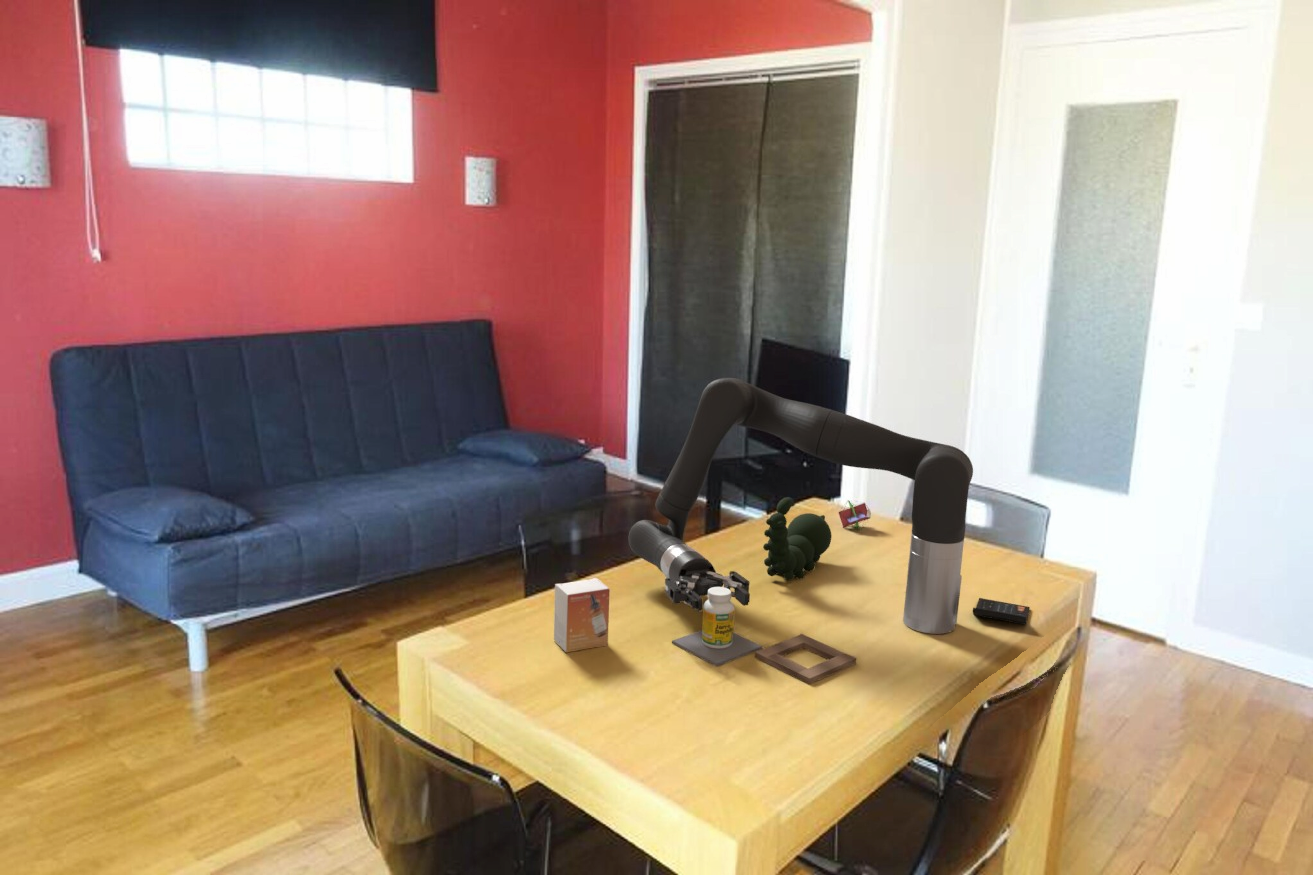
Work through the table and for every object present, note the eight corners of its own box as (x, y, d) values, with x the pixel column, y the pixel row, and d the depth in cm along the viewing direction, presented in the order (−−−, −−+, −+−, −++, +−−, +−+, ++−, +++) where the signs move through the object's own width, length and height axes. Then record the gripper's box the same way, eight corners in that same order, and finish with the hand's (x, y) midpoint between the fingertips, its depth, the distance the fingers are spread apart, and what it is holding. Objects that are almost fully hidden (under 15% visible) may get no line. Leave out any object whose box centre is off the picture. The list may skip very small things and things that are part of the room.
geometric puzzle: (835, 523, 233) (858, 498, 232) (828, 514, 239) (850, 489, 238) (858, 541, 234) (880, 515, 233) (850, 531, 241) (871, 506, 240)
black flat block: (1029, 611, 192) (1031, 596, 191) (1024, 633, 181) (1026, 618, 181) (978, 601, 195) (980, 587, 195) (971, 623, 185) (973, 608, 184)
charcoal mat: (717, 627, 179) (717, 624, 178) (762, 648, 171) (762, 646, 170) (671, 643, 171) (672, 640, 171) (716, 666, 163) (716, 663, 163)
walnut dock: (801, 639, 175) (801, 633, 175) (856, 663, 166) (856, 658, 166) (754, 657, 167) (754, 651, 167) (809, 684, 158) (809, 678, 158)
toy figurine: (793, 600, 196) (842, 555, 216) (796, 511, 191) (846, 473, 211) (750, 589, 201) (803, 546, 221) (752, 502, 196) (805, 466, 215)
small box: (565, 653, 166) (566, 595, 164) (553, 640, 171) (553, 583, 169) (609, 645, 170) (610, 588, 167) (595, 633, 175) (596, 576, 172)
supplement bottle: (720, 634, 175) (723, 582, 172) (738, 645, 170) (742, 593, 168) (695, 640, 172) (697, 588, 170) (713, 652, 167) (716, 599, 165)
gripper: (651, 553, 179) (686, 586, 164) (723, 546, 184) (763, 577, 169) (650, 592, 180) (684, 628, 166) (721, 584, 185) (760, 618, 171)
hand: (724, 603), depth 167 cm, fingers open, 8 cm apart
